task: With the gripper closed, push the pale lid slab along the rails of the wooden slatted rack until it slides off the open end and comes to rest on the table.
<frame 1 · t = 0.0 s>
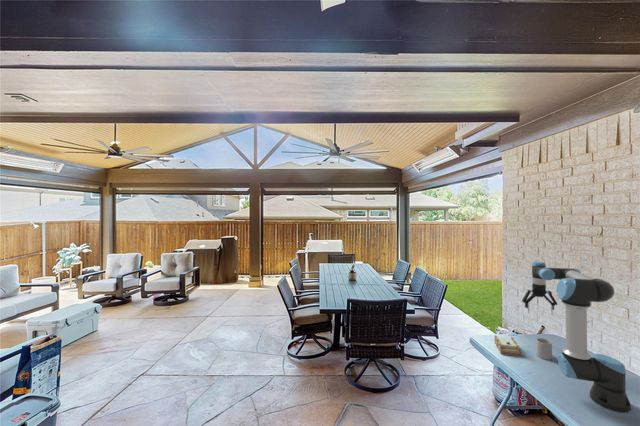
hand: (539, 313, 197), 28 cm above the table, fingers open, 13 cm apart
wooden slatted rack: (507, 349, 202), on the table
lid: (506, 344, 203), point 3 cm above the table, touching wooden slatted rack
mug: (543, 355, 193), on the table
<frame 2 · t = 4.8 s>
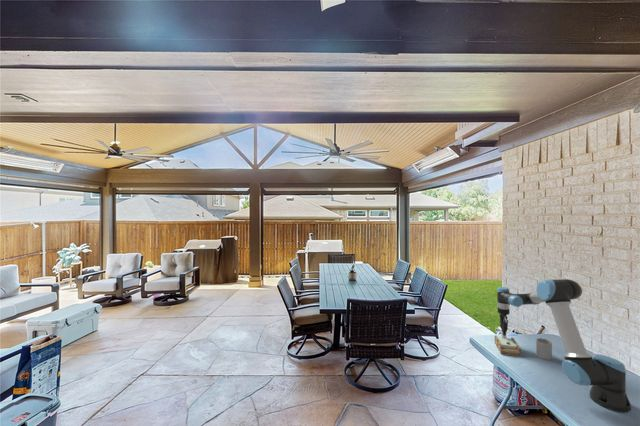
hand: (504, 338, 209), 4 cm above the table, fingers closed
lid: (506, 344, 203), point 4 cm above the table, touching gripper
everything else where it was.
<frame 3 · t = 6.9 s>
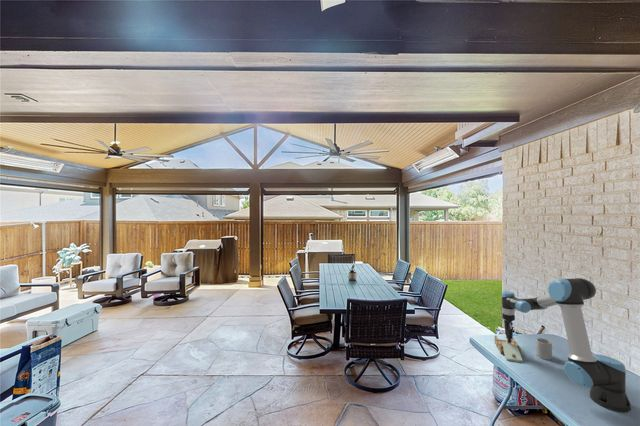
hand: (508, 346, 198), 4 cm above the table, fingers closed
lid: (511, 353, 192), point 2 cm above the table, tilted 26°
everything else where it was.
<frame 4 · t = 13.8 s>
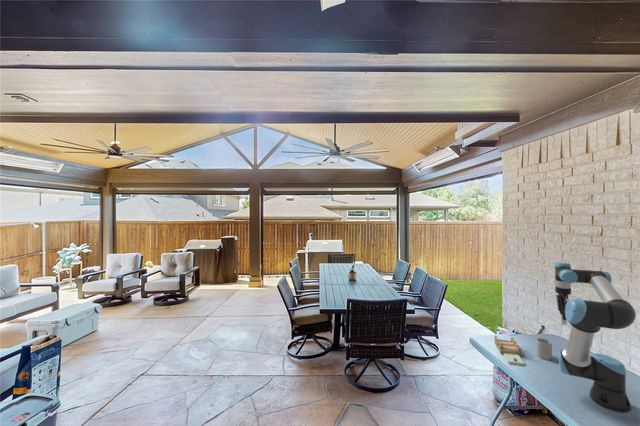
hand: (563, 324, 175), 29 cm above the table, fingers closed
lid: (513, 360, 189), on the table
everything else where it was.
at the end: lid inside the target area (3.7 cm from its centre), on the table; lid touching table; lid tilted 0° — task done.
